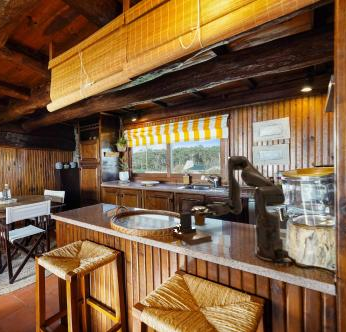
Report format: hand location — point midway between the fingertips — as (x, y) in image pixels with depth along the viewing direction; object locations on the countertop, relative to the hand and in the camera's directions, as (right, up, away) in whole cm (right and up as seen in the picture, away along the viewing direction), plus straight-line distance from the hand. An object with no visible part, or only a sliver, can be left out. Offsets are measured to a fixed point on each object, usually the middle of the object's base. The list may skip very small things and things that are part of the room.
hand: (194, 213), depth 133 cm
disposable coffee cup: (+10, -12, +20) cm, 25 cm away
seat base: (-4, -13, -6) cm, 15 cm away
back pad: (-6, -10, -2) cm, 12 cm away
